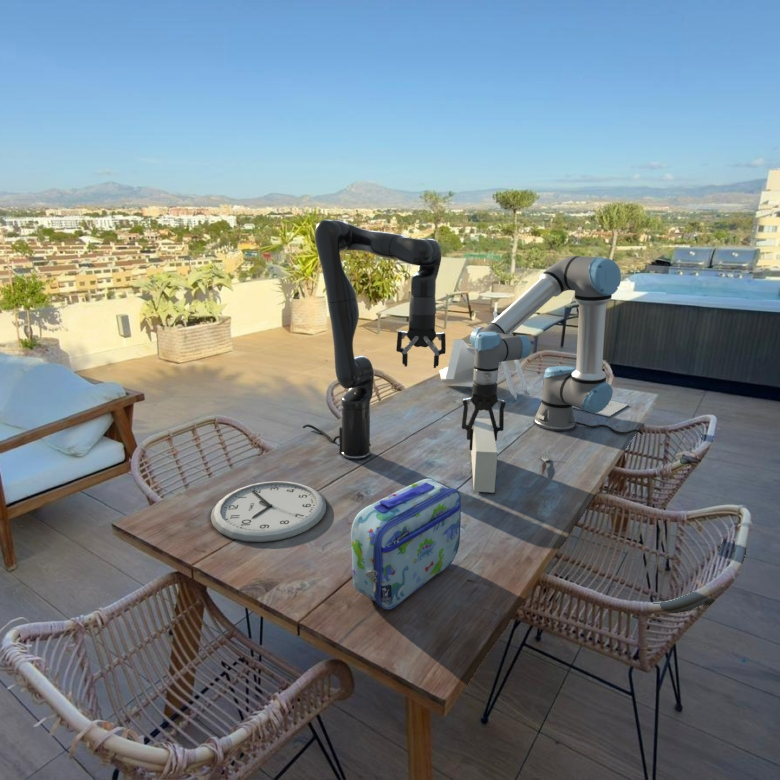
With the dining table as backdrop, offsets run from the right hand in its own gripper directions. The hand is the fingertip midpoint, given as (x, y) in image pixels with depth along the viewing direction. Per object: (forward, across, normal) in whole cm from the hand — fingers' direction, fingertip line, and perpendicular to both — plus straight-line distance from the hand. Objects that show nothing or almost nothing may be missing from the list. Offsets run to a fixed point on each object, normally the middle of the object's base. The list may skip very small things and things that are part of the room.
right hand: (481, 448), depth 172 cm
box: (+3, 0, -10) cm, 11 cm away
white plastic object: (+4, +3, +75) cm, 75 cm away
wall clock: (+3, -58, -41) cm, 71 cm away
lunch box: (+3, -18, -65) cm, 68 cm away
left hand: (-30, -20, -11) cm, 38 cm away
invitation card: (+5, +55, +63) cm, 83 cm away
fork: (+4, +20, -1) cm, 21 cm away
